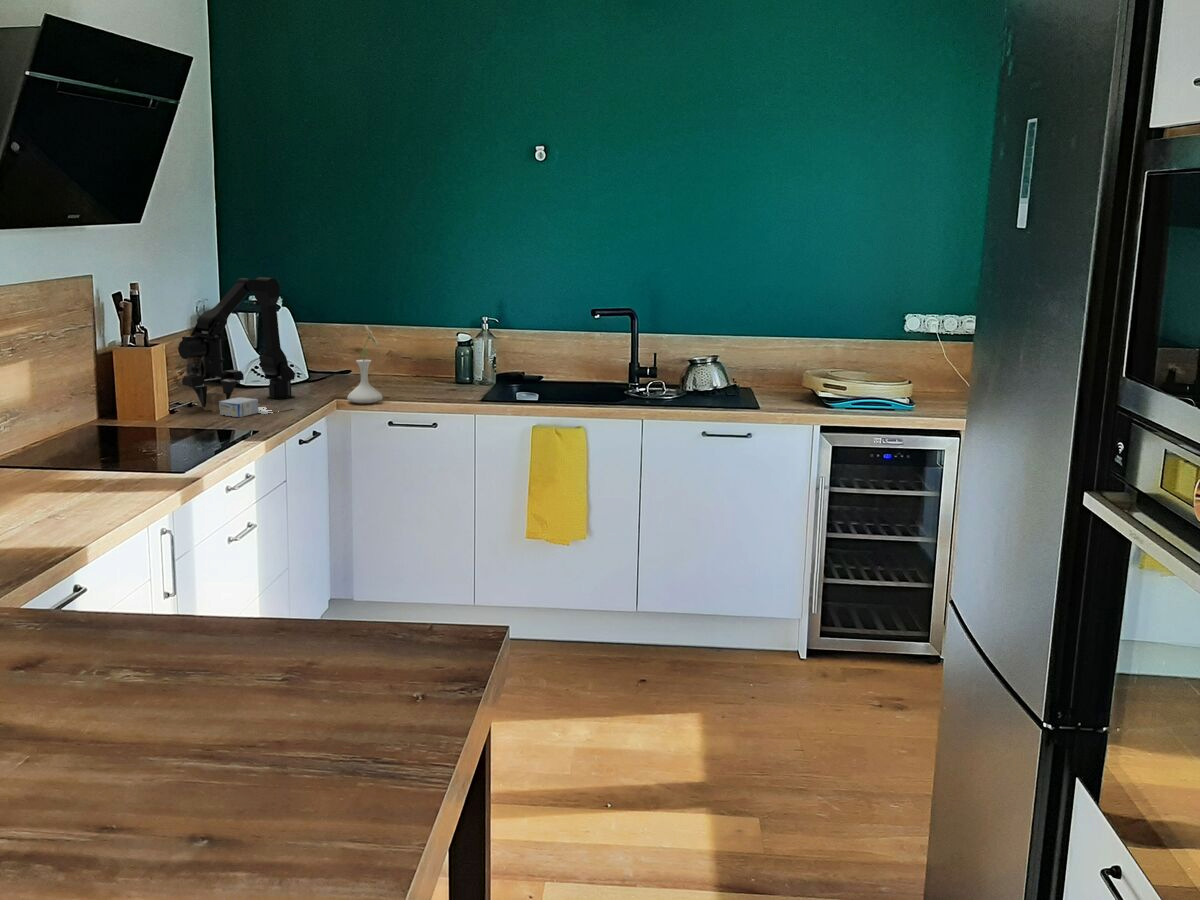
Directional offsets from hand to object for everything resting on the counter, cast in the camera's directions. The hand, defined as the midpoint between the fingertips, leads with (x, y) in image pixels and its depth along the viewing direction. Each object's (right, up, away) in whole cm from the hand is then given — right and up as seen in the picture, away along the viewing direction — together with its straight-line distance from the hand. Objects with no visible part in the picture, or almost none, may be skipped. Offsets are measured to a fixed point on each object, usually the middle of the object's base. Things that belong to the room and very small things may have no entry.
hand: (215, 405), depth 365 cm
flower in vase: (+44, +1, +16) cm, 47 cm away
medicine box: (+12, 0, -4) cm, 13 cm away
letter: (+16, -1, +1) cm, 16 cm away
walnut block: (0, -1, 0) cm, 1 cm away
